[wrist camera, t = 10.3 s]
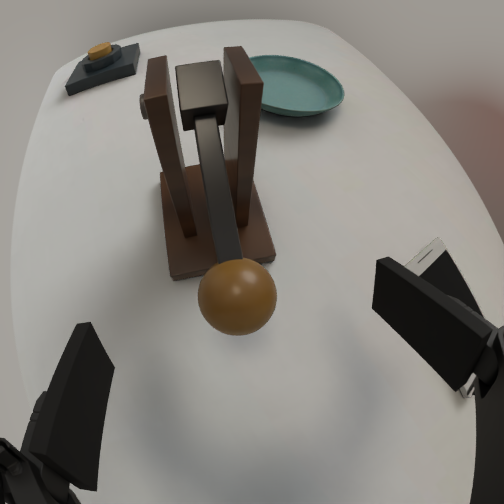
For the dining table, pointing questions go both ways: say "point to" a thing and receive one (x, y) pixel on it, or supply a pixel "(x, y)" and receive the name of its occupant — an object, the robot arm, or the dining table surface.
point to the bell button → (99, 51)
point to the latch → (221, 211)
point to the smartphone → (445, 281)
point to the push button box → (104, 68)
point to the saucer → (296, 86)
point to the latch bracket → (190, 178)
